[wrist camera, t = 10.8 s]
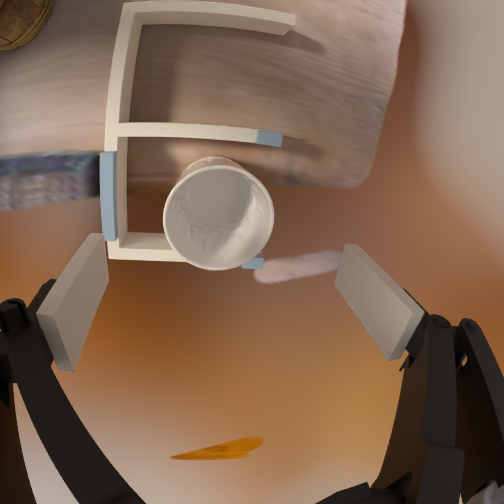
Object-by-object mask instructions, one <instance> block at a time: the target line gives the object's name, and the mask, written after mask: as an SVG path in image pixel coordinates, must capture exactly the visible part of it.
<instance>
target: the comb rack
mask: <svg viewBox="0 0 504 504" xmlns="http://www.w3.org/2000/svg"><path fill="white" fill-rule="evenodd" d="M295 21H296V15H293V14H289V13H284V12H280V11H275V10H270V9H264V8H258V7H252V6H245V5H238V4H229V3H219V2H207V1H183V0H163V1H140V2H128V3H124V5H123V9H122V13H121V18H120V22H119V27H118V32H117V37H116V42H115V48H114V53H113V60H112V66H111V73H110V81H109V90H108V100H107V111H106V125H105V148H104V152H101V153H100V197H101V217H102V231H103V234H104V240H105V241H107V244H108V254H109V259H127V260H154V261H181V262H186V261H185V260H184V259H182V258H181V257H180V256H179V255H178V254H177V253H176V252H175V251H174V250H173V248H172V247H171V245H170V244H169V242H168V240H167V238H166V235H165V233H143V232H128V228H127V149H128V137H185V138H204V139H218V140H230V141H241V142H251V143H257V144H261V145H269V146H277V147H281V146H282V139H283V133H279V132H275V131H270V130H263V129H255V128H247V127H237V126H227V125H215V124H200V123H180V122H129V116H130V105H131V95H132V86H133V78H134V71H135V64H136V57H137V51H138V45H139V40H140V34H141V29H142V25H152V24H185V25H206V26H218V27H228V28H237V29H245V30H251V31H258V32H264V33H269V34H275V35H280V36H283V35H284V34H286V33H287V32H288V31H289V30H290V29H292V28H293V27H294V26H295ZM263 262H264V257H263V254H262V252H261V251H260V252H259V253H258V254H257V255H256V256H255V257H254V258H252V259H251V260H250V261H248V262H246V263H244V264H242V265H241V266H242V268H247V269H262V268H263Z"/></svg>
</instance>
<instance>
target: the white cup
mask: <svg viewBox="0 0 504 504" xmlns="http://www.w3.org/2000/svg"><path fill="white" fill-rule="evenodd" d="M273 225H274V207H273V203H272V200H271V197H270V195H269V193H268V191H267V189H266V188H265V187H264V185H263V184H262V183H261V182H260V181H259V180H258V179H257V178H256V177H255V176H253V175H252V174H251V173H250V172H248V171H247V170H246V169H245V168H244V167H242V166H241V165H239V164H238V163H236V162H234V161H232V160H231V159H229V158H226V157H222V156H218V155H211V156H205V157H200V158H198V159H197V160H196V161H194V162H193V163H192V164H190V165H189V166H188V167H187V168H186V169H185V170H184V172H183V173H182V174H181V176H180V177H179V179H178V180H177V182H176V183H175V185H174V187H173V189H172V191H171V193H170V194H169V196H168V199H167V201H166V204H165V207H164V212H163V226H164V231H165V235H166V238H167V240H168V242H169V244H170V245H171V247H172V248H173V250H174V251H175V252H176V253H177V254H178V255H179V256H180V257H181V258H182V259H184V260H185V261H186V262H188V263H190V264H192V265H194V266H197V267H199V268H203V269H208V270H226V269H231V268H235V267H238V266H240V265H242V264H244V263H246V262H248V261H250V260H251V259H252V258H254V257H255V256H256V255H257V254H258V253H259V252H260V251H261V250H262V249H263V248H264V246H265V245H266V243H267V242H268V240H269V238H270V236H271V233H272V230H273Z"/></svg>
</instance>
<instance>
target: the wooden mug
mask: <svg viewBox="0 0 504 504" xmlns="http://www.w3.org/2000/svg"><path fill="white" fill-rule="evenodd" d="M54 1H55V0H0V50H13V49H16V48H19V47H21V46H24V45H25V44H26V43H28V42H29V41H30V40H32V39H33V38H34V37H35V36H36V35H37V33H38V32H39V31H40V30H41V29H42V27H43V26H44V24H45V23H46V22H47V20H48V18H49V16H50V14H51V12H52V9H53V6H54Z"/></svg>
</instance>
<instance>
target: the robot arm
mask: <svg viewBox="0 0 504 504" xmlns="http://www.w3.org/2000/svg"><path fill="white" fill-rule="evenodd" d="M108 281H109V276H108V268H107V260H106V251H105V240H104V234H98V233H91V234H90V235H89V236H88V237H87V239H86V240H85V241H84V243H83V244H82V246H81V247H80V248H79V249H78V251H77V252H76V254H75V255H74V257H73V258H72V259H71V260H70V262H69V263H68V265H67V266H66V267H65V269H64V270H63V272H62V273H61V275H60V276H59V278H58V279H57V280H56V279H50V280H49V281H47V282H46V283H45V284H43V285H42V287H41V288H40V290H39V291H38V294H36V296H35V297H34V300H32V302H31V303H30V305H29V306H28V308H26V305H25V303H24V301H23V300H21V299H18V298H12V299H8V300H6V301H4V302H2V303H1V304H0V329H1V331H0V504H37V503H36V501H35V497H34V494H33V491H32V488H31V485H30V481H29V478H28V474H27V470H26V466H25V462H24V458H23V453H22V448H21V444H20V438H19V433H18V426H17V419H16V412H15V403H14V392H13V383H17V385H18V388H19V390H20V393H21V396H22V398H23V401H24V403H25V406H26V408H27V411H28V413H29V415H30V418H31V420H32V422H33V424H34V427H35V429H36V431H37V433H38V435H39V437H40V439H41V441H42V443H43V445H44V447H45V449H46V451H47V452H48V455H49V456H50V458H51V460H52V462H53V463H54V465H55V467H56V469H57V470H58V472H59V474H60V475H61V477H62V479H63V480H64V482H65V483H66V485H67V486H68V488H69V489H70V491H71V492H72V494H73V495H74V497H75V498H76V500H77V501H78V502H79V504H146V503H145V502H144V501H143V500H142V499H141V498H140V497H139V496H138V495H137V493H136V492H135V491H134V490H133V489H132V488H131V487H130V486H129V485H128V483H127V482H126V481H125V480H124V479H123V478H122V476H121V475H120V474H119V473H118V472H117V470H116V469H115V468H114V467H113V466H112V464H111V463H110V462H109V460H108V459H107V458H106V456H105V455H104V454H103V452H102V451H101V450H100V448H99V447H98V445H97V444H96V443H95V441H94V440H93V438H92V437H91V435H90V434H89V433H88V431H87V429H86V428H85V426H84V425H83V423H82V422H81V420H80V419H79V417H78V415H77V414H76V412H75V411H74V409H73V407H72V405H71V404H70V402H69V400H68V398H67V397H66V395H65V393H64V391H63V390H62V388H61V386H60V384H59V382H58V380H57V378H56V376H55V374H54V372H53V370H52V368H51V364H52V362H53V359H54V361H55V363H56V366H57V368H58V369H60V370H66V371H72V372H75V369H76V366H77V363H78V360H79V357H80V354H81V351H82V348H83V345H84V342H85V339H86V337H87V334H88V331H89V329H90V326H91V323H92V321H93V318H94V315H95V313H96V310H97V308H98V305H99V303H100V300H101V298H102V296H103V293H104V291H105V288H106V286H107V284H108ZM334 285H335V287H336V288H337V290H338V291H339V292H340V294H341V295H342V296H343V298H344V299H345V301H346V302H347V303H348V305H349V306H350V307H351V309H352V310H353V312H354V313H355V314H356V316H357V317H358V319H359V320H360V322H361V323H362V324H363V326H364V327H365V329H366V330H367V331H368V333H369V334H370V336H371V337H372V338H373V340H374V341H375V343H376V344H377V346H378V347H379V349H380V350H381V352H382V353H383V354H384V356H385V358H386V359H387V361H391V360H395V359H399V358H400V357H401V356H402V354H403V352H404V350H405V349H406V350H407V351H408V352H409V355H408V356H407V358H406V360H405V361H404V363H403V365H402V366H401V368H400V370H399V371H402V369H403V368H404V375H403V381H402V386H401V392H400V397H399V403H398V407H397V412H396V416H395V420H394V425H393V429H392V433H391V437H390V440H389V444H388V448H387V451H386V455H385V458H384V462H383V465H382V468H381V471H380V473H379V476H378V478H377V479H376V480H375V482H374V483H373V485H372V486H371V488H370V487H369V485H368V483H367V482H365V483H362V484H360V485H357V486H354V487H351V488H348V489H344V490H341V491H338V492H336V493H334V494H333V495H331V496H329V497H327V498H325V499H323V500H321V501H320V502H318V503H316V504H458V503H459V497H460V493H461V498H462V502H463V504H504V377H503V375H502V373H501V370H500V368H499V366H498V364H497V361H496V359H495V357H494V355H493V352H492V350H491V348H490V346H489V344H488V342H487V340H486V338H485V336H484V334H483V332H482V330H481V328H480V327H479V325H478V324H477V323H476V322H475V321H473V320H471V319H467V318H464V319H462V320H461V322H460V324H459V326H451V324H450V322H449V321H448V320H447V319H445V318H444V317H442V316H440V315H436V314H434V315H433V314H432V315H429V314H428V313H427V312H426V311H425V309H424V308H423V307H422V306H421V305H420V304H419V303H418V302H417V301H415V299H414V298H413V297H411V295H410V294H409V293H408V292H407V291H406V290H405V289H404V288H402V287H400V286H399V285H398V284H397V283H396V282H395V281H394V280H393V279H392V278H391V277H390V276H389V275H388V274H387V273H386V272H385V271H384V270H383V269H382V268H381V267H380V266H379V265H378V264H377V263H376V262H374V260H372V258H371V257H369V256H368V255H367V254H366V253H365V252H364V251H363V250H362V249H361V248H360V247H359V246H358V245H357V244H345V247H344V251H343V254H342V258H341V262H340V265H339V269H338V272H337V276H336V279H335V282H334ZM466 356H467V362H466V364H465V365H464V366H463V365H462V362H463V360H464V359H465V357H466Z"/></svg>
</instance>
